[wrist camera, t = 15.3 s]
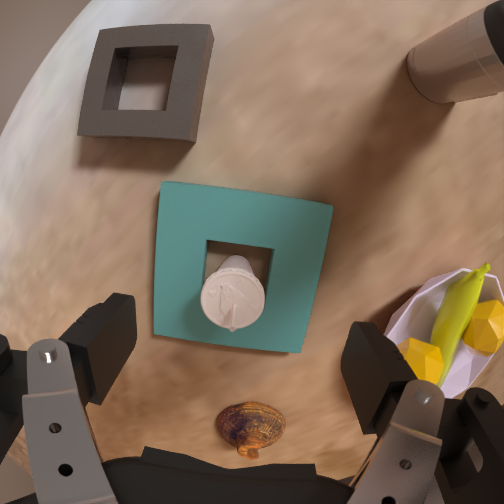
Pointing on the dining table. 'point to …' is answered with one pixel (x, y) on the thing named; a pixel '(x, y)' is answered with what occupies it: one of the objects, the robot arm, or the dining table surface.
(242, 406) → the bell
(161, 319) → the low socket
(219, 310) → the smoothie
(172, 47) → the tall socket
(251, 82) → the dining table surface
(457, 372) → the fruit bowl
